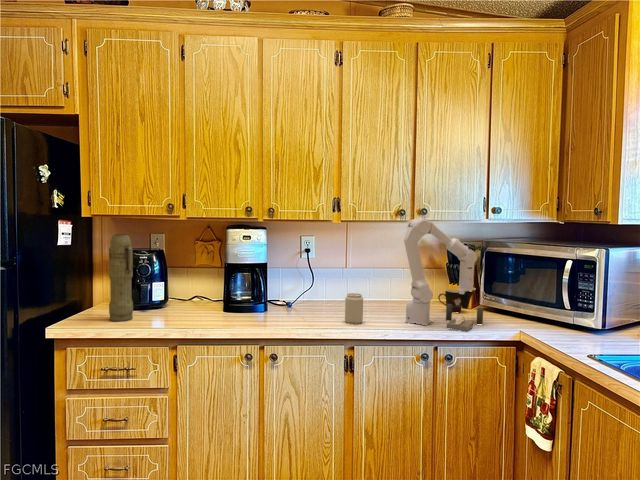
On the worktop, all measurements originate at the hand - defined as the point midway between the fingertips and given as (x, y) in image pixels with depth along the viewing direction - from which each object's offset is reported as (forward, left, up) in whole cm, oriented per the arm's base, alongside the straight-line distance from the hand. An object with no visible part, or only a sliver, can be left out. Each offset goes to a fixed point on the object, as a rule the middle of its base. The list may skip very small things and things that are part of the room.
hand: (465, 308), depth 189 cm
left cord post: (-6, -1, -6) cm, 9 cm away
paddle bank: (+1, -11, -4) cm, 12 cm away
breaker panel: (+1, -11, -6) cm, 13 cm away
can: (-38, -30, -6) cm, 49 cm away
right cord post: (+7, -1, -6) cm, 9 cm away
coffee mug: (-11, +17, -6) cm, 21 cm away
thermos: (-117, -85, -6) cm, 145 cm away
